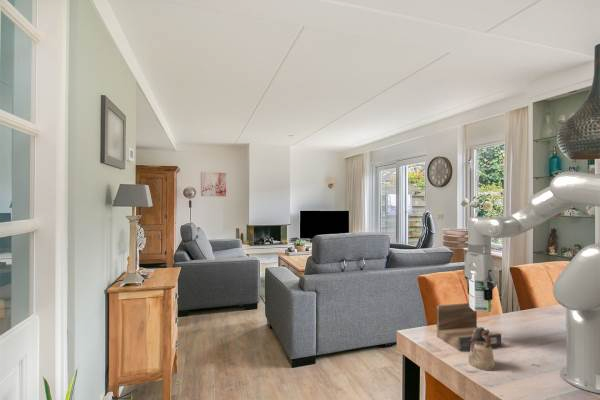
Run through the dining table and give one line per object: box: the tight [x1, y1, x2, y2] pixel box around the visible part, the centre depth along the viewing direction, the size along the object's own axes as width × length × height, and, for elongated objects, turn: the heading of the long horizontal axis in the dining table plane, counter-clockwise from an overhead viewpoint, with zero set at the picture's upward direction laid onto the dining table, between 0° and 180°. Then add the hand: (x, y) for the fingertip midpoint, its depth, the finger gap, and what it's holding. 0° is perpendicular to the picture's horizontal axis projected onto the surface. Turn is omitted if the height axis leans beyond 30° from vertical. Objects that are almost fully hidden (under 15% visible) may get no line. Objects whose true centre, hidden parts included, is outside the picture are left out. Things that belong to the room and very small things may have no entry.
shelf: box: [436, 302, 502, 352], centre depth 119 cm, size 13×17×12 cm
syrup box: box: [468, 271, 492, 313], centre depth 118 cm, size 6×6×14 cm
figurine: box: [468, 326, 496, 371], centre depth 101 cm, size 7×7×12 cm
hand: (479, 296), depth 118 cm, fingers closed on syrup box, 7 cm apart
